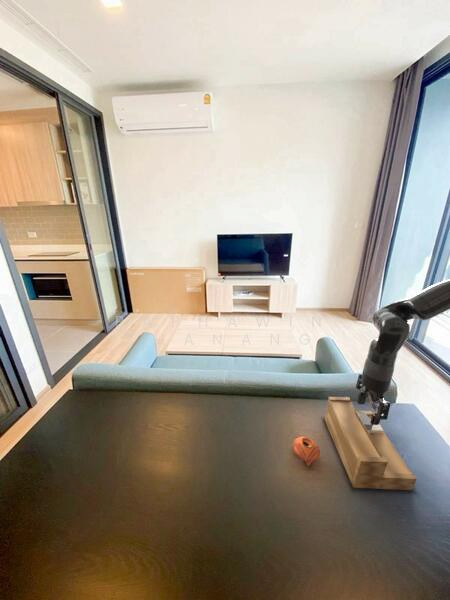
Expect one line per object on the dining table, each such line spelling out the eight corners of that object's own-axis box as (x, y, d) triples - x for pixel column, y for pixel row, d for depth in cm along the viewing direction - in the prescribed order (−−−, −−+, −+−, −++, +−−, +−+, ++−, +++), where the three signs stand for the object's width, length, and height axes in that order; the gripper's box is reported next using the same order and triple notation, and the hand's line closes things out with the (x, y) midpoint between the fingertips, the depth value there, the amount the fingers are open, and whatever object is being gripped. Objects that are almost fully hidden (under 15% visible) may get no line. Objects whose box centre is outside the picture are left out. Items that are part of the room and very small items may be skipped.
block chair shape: (375, 422, 84) (378, 414, 82) (383, 433, 80) (385, 425, 78) (352, 421, 84) (354, 413, 83) (358, 432, 80) (360, 424, 79)
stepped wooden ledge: (368, 420, 89) (375, 397, 85) (412, 490, 67) (423, 463, 64) (324, 419, 90) (328, 396, 86) (353, 487, 68) (360, 461, 64)
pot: (289, 464, 74) (292, 443, 73) (293, 447, 81) (295, 428, 80) (317, 474, 71) (320, 453, 70) (319, 456, 78) (321, 437, 77)
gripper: (405, 388, 67) (391, 432, 73) (377, 358, 81) (367, 397, 86) (377, 388, 67) (366, 431, 73) (354, 358, 81) (346, 397, 87)
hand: (367, 413), depth 80 cm, fingers open, 8 cm apart
